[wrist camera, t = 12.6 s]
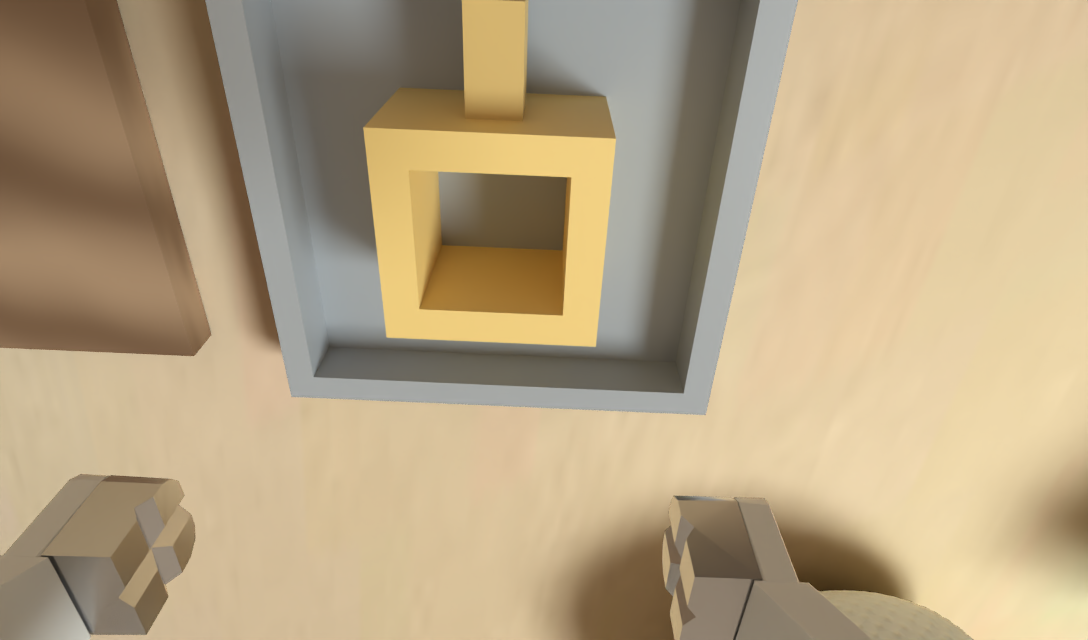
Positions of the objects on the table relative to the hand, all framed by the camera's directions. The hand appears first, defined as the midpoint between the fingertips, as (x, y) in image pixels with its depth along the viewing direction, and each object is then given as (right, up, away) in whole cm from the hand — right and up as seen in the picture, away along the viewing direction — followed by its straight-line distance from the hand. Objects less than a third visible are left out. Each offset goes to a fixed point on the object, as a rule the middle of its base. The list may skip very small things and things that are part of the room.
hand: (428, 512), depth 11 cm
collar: (+1, +9, +11) cm, 14 cm away
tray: (+1, +8, +12) cm, 14 cm away
